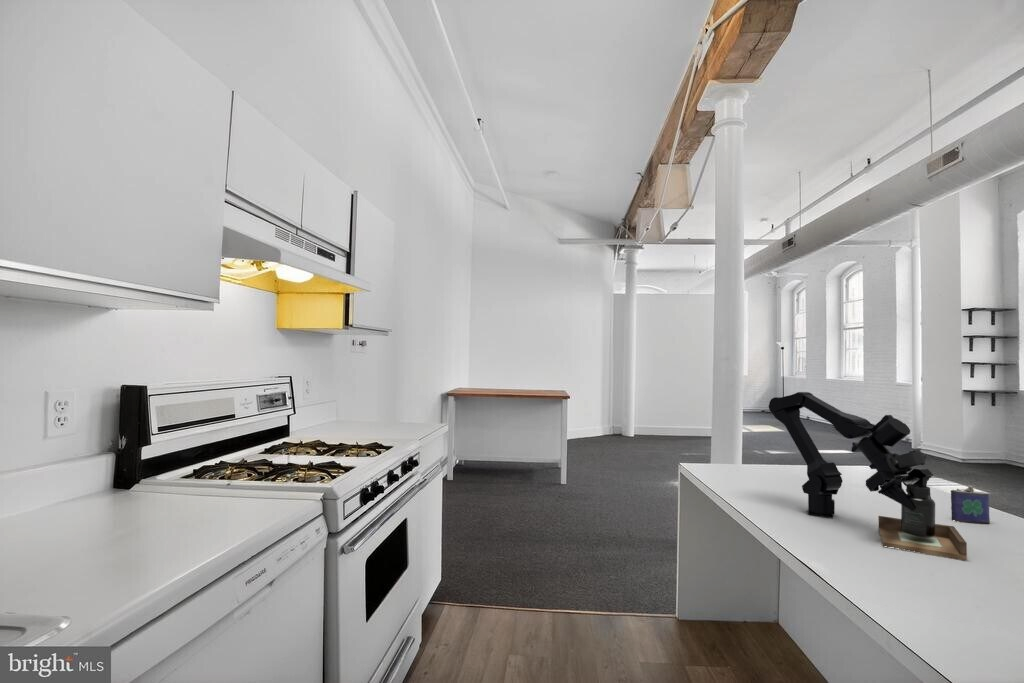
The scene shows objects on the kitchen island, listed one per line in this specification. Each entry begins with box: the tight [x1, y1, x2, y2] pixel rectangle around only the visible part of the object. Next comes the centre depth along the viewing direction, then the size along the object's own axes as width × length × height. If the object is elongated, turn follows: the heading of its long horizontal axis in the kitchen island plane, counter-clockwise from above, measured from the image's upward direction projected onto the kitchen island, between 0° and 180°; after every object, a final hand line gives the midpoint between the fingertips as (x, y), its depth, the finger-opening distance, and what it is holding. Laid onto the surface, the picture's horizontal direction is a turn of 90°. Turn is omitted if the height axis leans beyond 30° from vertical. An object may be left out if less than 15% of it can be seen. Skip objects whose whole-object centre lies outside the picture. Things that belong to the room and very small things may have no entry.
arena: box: [878, 515, 968, 561], centre depth 132 cm, size 16×15×4 cm
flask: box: [950, 485, 991, 525], centre depth 153 cm, size 9×3×11 cm, turn 74°
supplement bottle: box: [900, 484, 936, 538], centre depth 132 cm, size 7×7×12 cm
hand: (923, 508), depth 131 cm, fingers closed on supplement bottle, 7 cm apart
